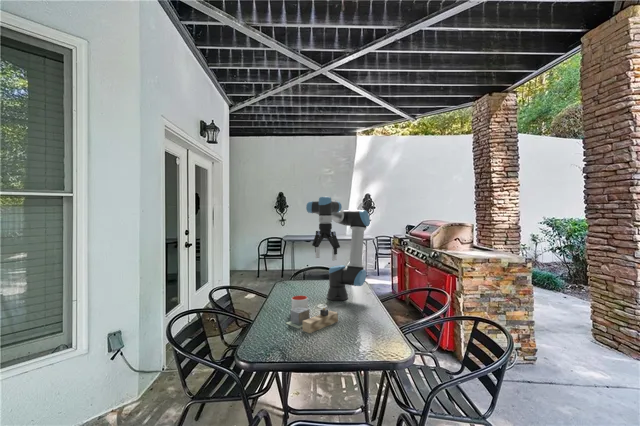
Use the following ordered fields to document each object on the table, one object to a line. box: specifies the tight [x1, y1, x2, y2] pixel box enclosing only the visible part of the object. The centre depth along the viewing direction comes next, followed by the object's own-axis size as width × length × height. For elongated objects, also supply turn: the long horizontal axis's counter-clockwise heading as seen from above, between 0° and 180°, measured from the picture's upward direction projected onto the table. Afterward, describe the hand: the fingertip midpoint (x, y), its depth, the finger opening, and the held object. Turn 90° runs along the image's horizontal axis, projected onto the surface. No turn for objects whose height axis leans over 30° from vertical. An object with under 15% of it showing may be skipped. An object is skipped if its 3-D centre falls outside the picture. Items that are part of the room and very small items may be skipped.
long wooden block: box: [302, 310, 339, 334], centre depth 160 cm, size 22×6×5 cm, turn 136°
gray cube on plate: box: [290, 307, 310, 326], centre depth 165 cm, size 8×7×7 cm
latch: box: [319, 307, 329, 316], centre depth 162 cm, size 3×3×4 cm
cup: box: [290, 295, 309, 310], centre depth 180 cm, size 10×10×10 cm
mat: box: [285, 320, 303, 330], centre depth 165 cm, size 12×11×1 cm
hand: (325, 259), depth 172 cm, fingers open, 13 cm apart
